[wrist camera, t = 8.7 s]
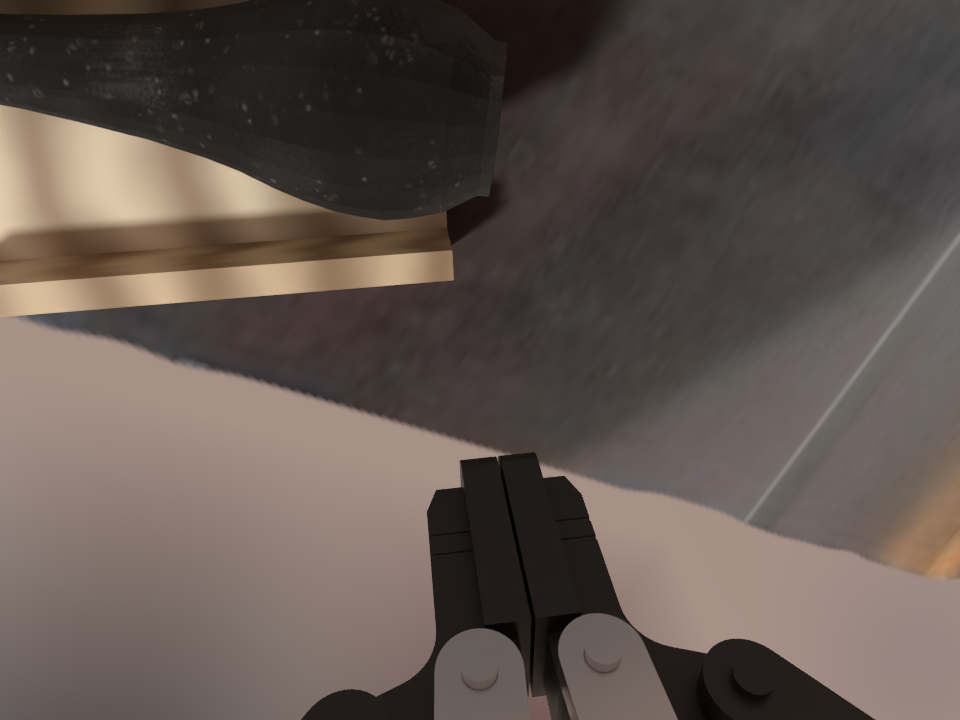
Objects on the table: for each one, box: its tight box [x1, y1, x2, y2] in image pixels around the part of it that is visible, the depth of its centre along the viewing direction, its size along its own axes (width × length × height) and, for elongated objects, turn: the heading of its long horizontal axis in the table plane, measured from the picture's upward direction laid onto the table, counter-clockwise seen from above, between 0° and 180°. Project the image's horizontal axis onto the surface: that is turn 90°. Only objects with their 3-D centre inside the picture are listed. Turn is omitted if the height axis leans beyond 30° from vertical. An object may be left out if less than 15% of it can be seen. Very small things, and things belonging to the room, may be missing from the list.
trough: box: [0, 0, 454, 317], centre depth 35 cm, size 28×18×4 cm, turn 91°
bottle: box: [0, 0, 507, 220], centre depth 31 cm, size 11×11×30 cm
